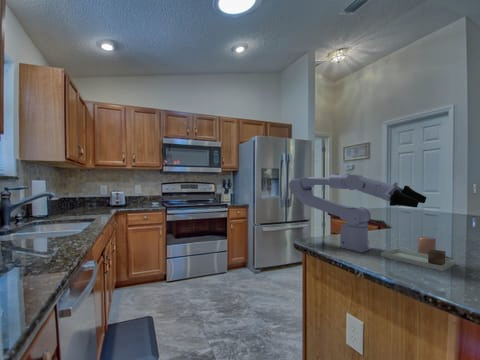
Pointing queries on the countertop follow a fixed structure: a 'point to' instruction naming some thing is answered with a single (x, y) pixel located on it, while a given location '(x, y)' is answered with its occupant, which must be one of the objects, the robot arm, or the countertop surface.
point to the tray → (415, 258)
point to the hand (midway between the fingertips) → (421, 202)
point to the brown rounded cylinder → (426, 244)
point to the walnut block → (436, 257)
